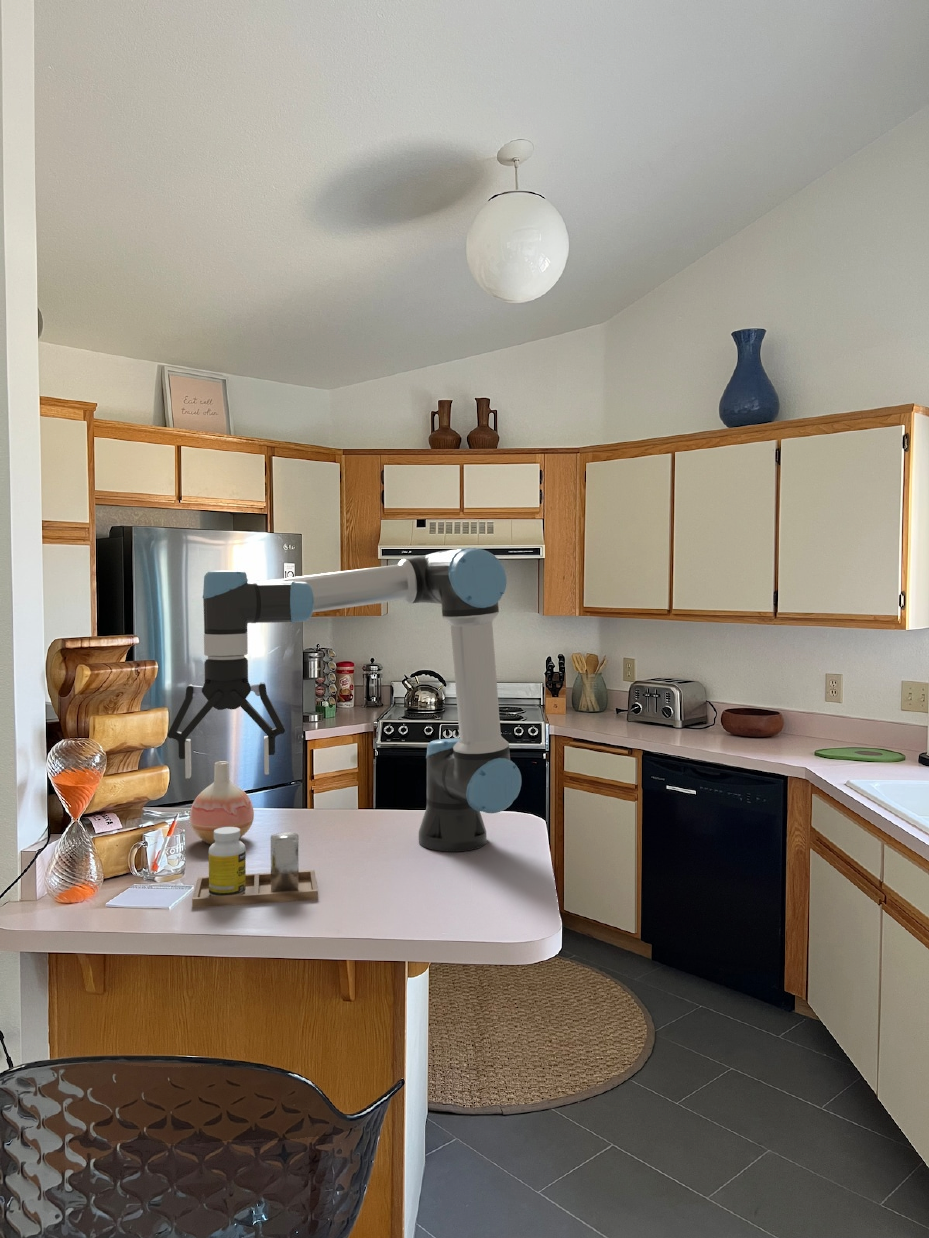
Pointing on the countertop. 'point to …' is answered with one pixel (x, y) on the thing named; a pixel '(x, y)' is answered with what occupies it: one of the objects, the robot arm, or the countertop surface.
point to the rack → (256, 891)
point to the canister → (284, 862)
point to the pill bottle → (227, 863)
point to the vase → (221, 806)
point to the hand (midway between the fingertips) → (227, 775)
